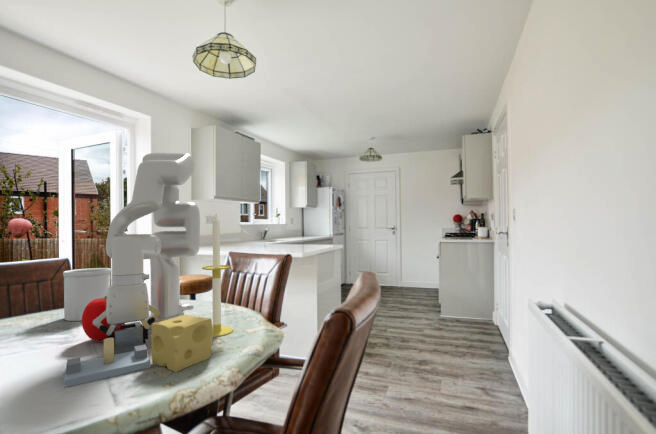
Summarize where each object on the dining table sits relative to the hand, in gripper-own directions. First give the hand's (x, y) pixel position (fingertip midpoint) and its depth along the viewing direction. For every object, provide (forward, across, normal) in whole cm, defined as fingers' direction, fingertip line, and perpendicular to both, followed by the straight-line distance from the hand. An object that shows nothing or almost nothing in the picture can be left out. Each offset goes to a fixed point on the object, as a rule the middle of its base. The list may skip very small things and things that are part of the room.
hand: (128, 344), depth 92 cm
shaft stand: (+1, +5, +13) cm, 14 cm away
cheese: (+1, -10, +18) cm, 21 cm away
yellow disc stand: (+1, -24, +1) cm, 24 cm away
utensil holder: (+1, +9, -49) cm, 50 cm away
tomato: (+1, +5, -13) cm, 14 cm away
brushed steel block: (+1, 0, 0) cm, 1 cm away
